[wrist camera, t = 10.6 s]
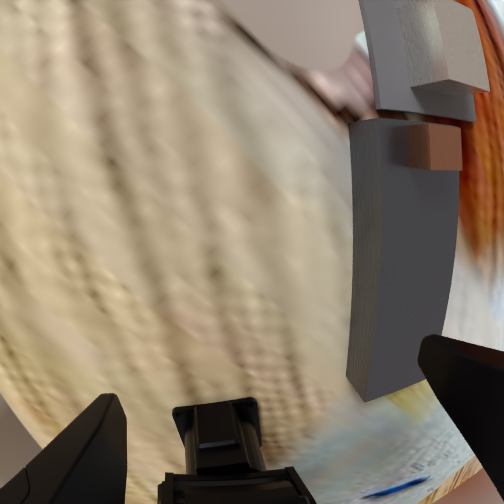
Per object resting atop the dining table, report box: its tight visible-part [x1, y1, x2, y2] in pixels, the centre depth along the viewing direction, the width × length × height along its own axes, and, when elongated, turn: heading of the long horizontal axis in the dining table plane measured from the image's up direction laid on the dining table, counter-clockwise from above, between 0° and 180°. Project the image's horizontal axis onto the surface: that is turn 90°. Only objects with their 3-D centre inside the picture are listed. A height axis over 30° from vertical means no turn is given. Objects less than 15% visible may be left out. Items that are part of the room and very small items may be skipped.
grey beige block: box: [396, 0, 490, 96], centre depth 15 cm, size 6×4×4 cm
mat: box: [359, 0, 476, 122], centre depth 17 cm, size 10×10×1 cm
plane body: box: [346, 118, 462, 402], centre depth 19 cm, size 19×6×6 cm, turn 5°
